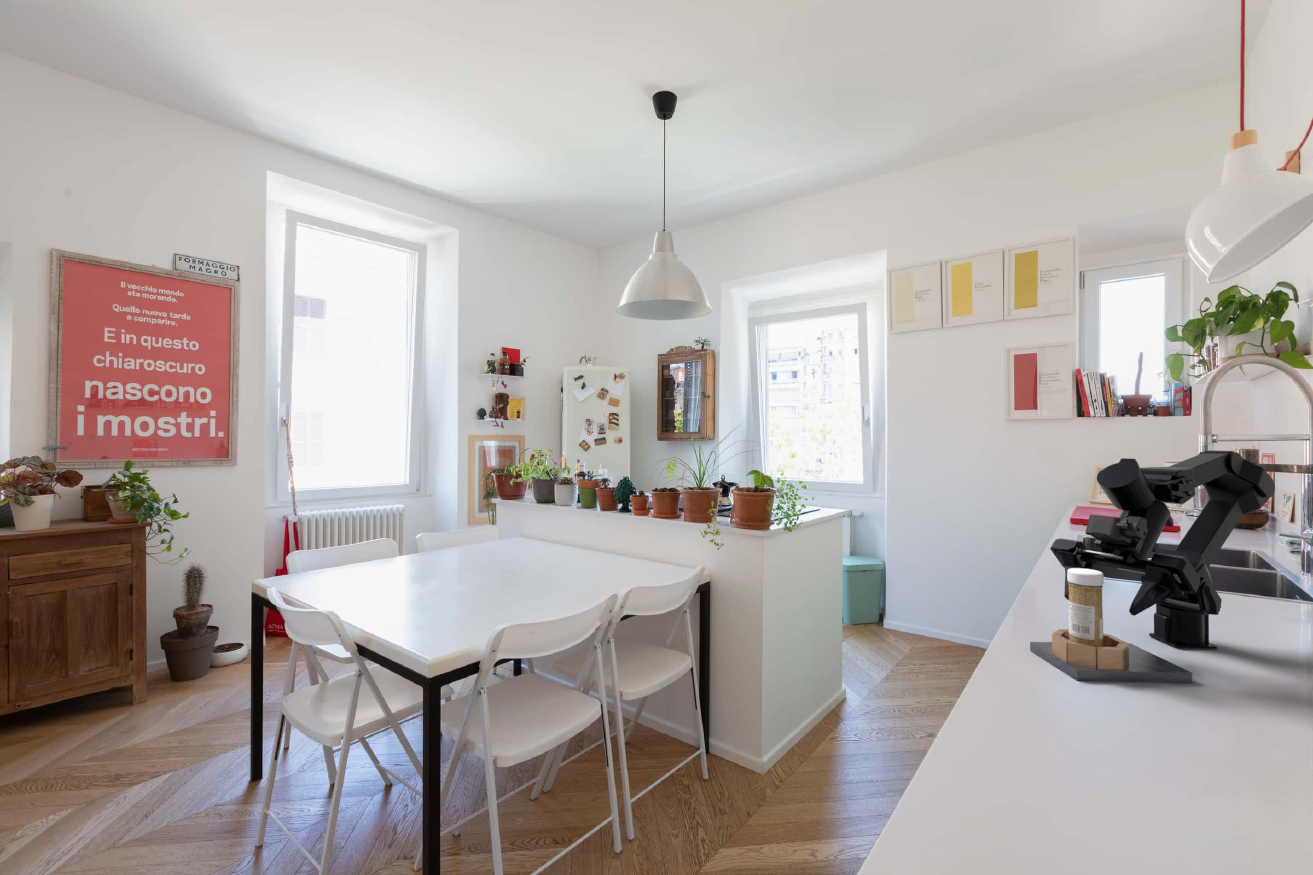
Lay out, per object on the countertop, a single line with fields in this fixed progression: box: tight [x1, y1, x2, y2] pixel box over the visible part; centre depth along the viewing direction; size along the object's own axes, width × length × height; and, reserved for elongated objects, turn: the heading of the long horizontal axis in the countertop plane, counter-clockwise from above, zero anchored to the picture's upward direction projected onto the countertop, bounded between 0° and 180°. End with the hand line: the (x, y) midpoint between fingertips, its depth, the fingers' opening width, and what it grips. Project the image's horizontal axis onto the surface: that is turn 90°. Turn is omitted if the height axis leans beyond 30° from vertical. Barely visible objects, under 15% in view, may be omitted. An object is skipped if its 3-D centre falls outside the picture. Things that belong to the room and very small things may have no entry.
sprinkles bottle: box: [1067, 568, 1105, 647], centre depth 91 cm, size 5×5×14 cm
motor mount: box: [1029, 628, 1193, 684], centre depth 91 cm, size 16×12×4 cm
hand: (1097, 605), depth 91 cm, fingers open, 9 cm apart
